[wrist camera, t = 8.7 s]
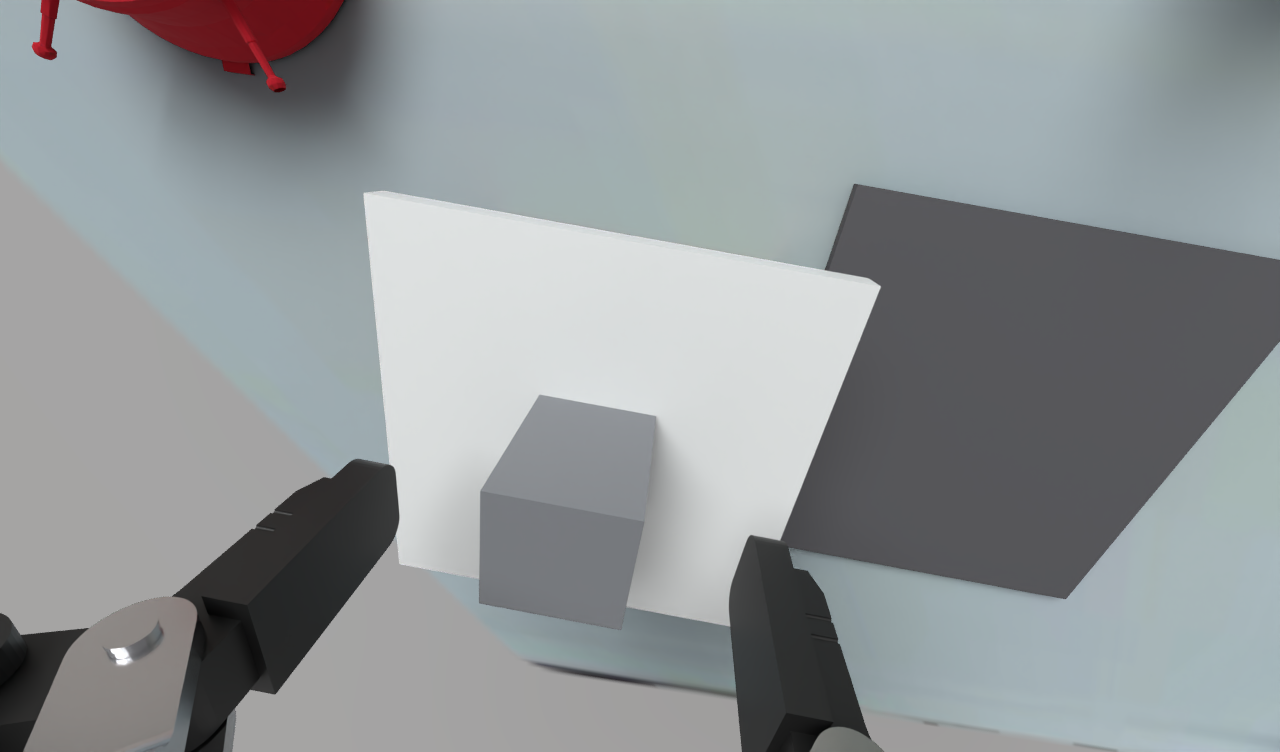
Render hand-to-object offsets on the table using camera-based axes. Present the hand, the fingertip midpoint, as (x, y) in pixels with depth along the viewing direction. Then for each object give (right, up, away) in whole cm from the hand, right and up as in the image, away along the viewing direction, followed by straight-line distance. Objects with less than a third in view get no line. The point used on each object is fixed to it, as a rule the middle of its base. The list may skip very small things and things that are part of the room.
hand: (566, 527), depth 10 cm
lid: (0, +2, +3) cm, 4 cm away
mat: (+16, +1, +9) cm, 18 cm away
